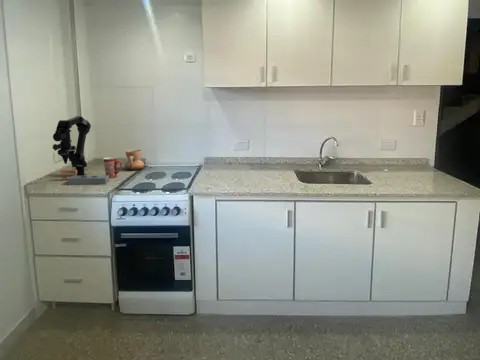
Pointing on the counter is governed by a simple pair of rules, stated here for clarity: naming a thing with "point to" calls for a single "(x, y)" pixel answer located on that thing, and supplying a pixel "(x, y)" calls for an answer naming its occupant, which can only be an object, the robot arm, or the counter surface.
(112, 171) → the mug
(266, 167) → the counter surface
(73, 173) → the tan pronged block
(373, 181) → the counter surface
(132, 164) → the ceramic jug
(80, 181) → the rail
